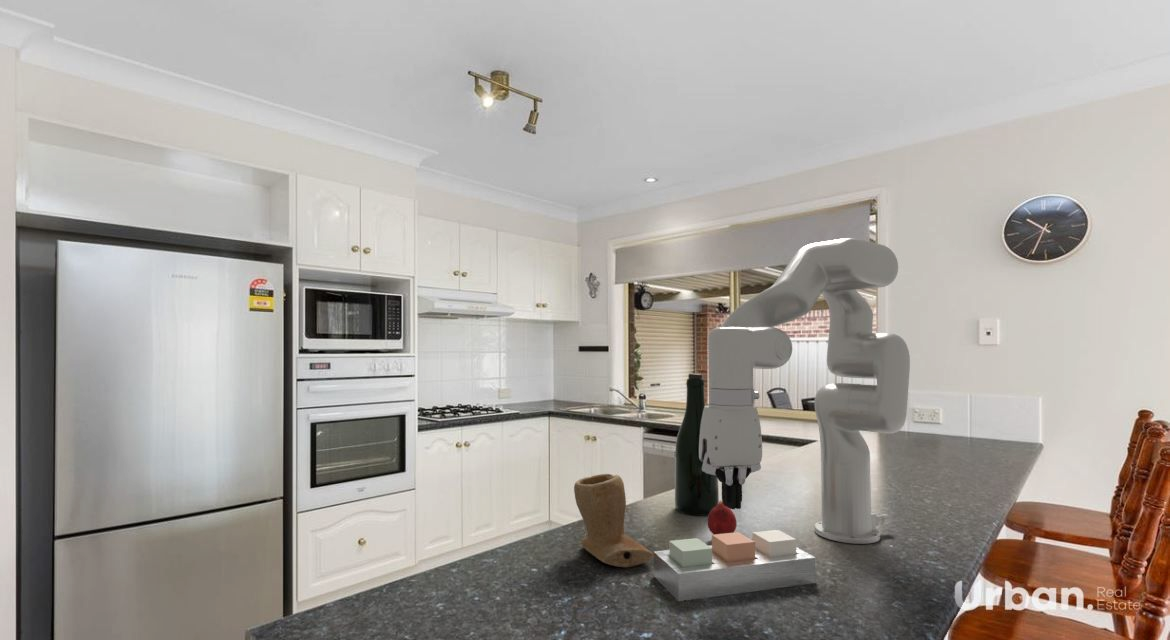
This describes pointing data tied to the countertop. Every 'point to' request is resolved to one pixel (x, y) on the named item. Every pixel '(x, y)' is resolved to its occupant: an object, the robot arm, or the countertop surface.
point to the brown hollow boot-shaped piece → (607, 521)
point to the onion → (721, 520)
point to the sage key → (690, 552)
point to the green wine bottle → (693, 457)
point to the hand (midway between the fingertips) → (731, 506)
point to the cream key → (774, 543)
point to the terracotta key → (733, 547)
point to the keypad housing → (733, 575)
